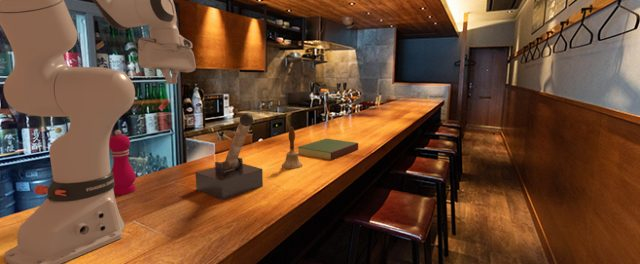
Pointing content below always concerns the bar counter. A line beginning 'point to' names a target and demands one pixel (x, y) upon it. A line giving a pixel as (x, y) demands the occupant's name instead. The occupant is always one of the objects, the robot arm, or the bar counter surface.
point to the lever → (237, 142)
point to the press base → (228, 180)
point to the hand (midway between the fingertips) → (172, 83)
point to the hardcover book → (328, 148)
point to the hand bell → (292, 153)
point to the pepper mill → (121, 164)
